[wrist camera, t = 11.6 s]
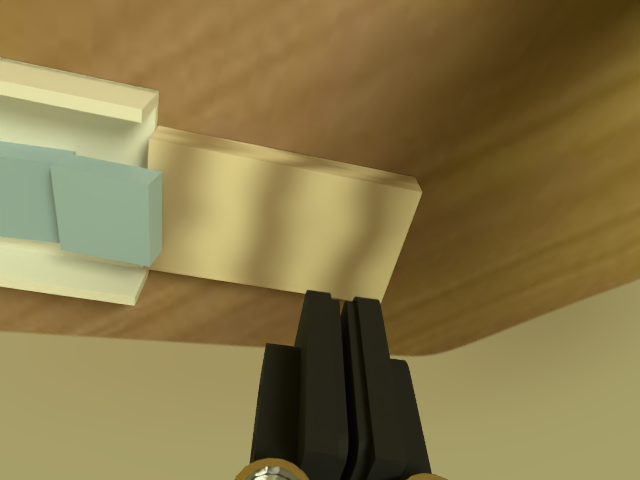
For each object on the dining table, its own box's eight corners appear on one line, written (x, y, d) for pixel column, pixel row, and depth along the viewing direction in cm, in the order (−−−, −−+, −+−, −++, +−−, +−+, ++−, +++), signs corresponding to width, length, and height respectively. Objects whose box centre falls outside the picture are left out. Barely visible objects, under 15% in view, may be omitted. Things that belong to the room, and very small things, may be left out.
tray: (159, 90, 31) (142, 109, 27) (148, 273, 38) (134, 305, 35) (-43, 48, 29) (-88, 62, 25) (-12, 248, 36) (-44, 280, 33)
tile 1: (75, 151, 32) (61, 164, 30) (83, 228, 35) (71, 244, 33) (-22, 138, 31) (-42, 150, 29) (-5, 218, 34) (-22, 234, 32)
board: (414, 176, 35) (422, 192, 32) (375, 285, 40) (380, 305, 38) (158, 125, 32) (148, 138, 30) (151, 249, 37) (142, 268, 35)
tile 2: (162, 171, 31) (148, 185, 29) (162, 249, 34) (149, 266, 32) (69, 153, 31) (50, 166, 29) (78, 233, 34) (60, 249, 32)
